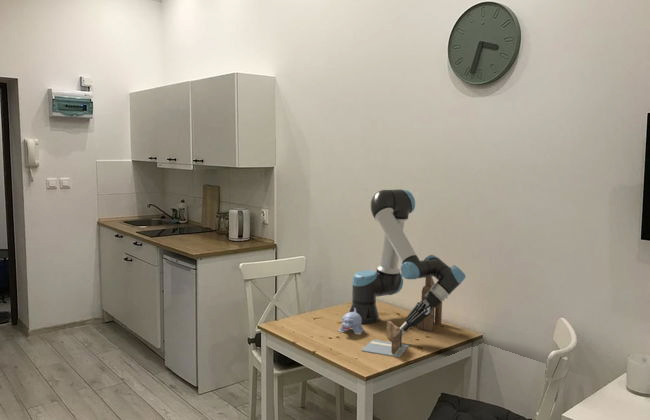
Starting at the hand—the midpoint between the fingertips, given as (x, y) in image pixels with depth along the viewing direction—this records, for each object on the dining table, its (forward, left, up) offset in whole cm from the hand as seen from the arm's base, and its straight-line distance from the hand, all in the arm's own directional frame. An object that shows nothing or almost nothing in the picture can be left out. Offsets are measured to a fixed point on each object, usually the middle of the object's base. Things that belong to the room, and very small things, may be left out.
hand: (397, 334), depth 231 cm
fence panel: (-2, -1, -2) cm, 3 cm away
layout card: (-2, -10, -3) cm, 11 cm away
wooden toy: (+8, +30, -3) cm, 31 cm away
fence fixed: (+3, -11, -3) cm, 12 cm away
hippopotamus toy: (-23, +4, -4) cm, 24 cm away
